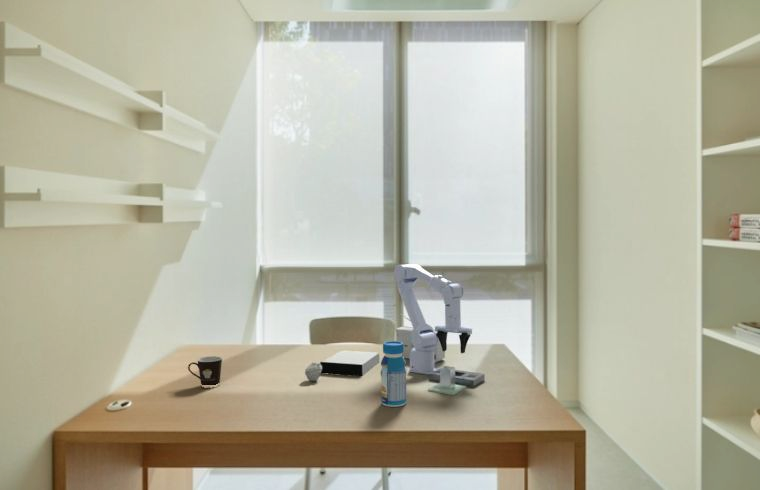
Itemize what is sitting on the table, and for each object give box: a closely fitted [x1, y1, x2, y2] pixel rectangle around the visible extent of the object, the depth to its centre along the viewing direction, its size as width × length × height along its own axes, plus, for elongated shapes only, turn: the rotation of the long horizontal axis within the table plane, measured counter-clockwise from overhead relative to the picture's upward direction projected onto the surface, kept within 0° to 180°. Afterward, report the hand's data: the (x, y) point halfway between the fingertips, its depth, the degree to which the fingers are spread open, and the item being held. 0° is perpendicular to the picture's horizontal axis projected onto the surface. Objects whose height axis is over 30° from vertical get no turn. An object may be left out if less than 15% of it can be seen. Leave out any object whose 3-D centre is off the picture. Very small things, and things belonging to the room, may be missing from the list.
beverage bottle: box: [380, 340, 407, 408], centre depth 183 cm, size 8×8×20 cm
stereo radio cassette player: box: [395, 312, 446, 364], centre depth 242 cm, size 21×8×20 cm, turn 58°
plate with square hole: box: [428, 367, 485, 388], centre depth 209 cm, size 18×10×3 cm, turn 57°
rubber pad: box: [427, 382, 467, 396], centre depth 198 cm, size 10×10×1 cm
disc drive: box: [319, 349, 380, 377], centre depth 229 cm, size 18×22×5 cm
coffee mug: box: [187, 355, 223, 385], centre depth 206 cm, size 12×9×10 cm
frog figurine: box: [304, 361, 322, 382], centre depth 211 cm, size 6×7×7 cm
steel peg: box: [439, 365, 456, 390], centre depth 198 cm, size 4×4×7 cm
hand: (453, 351), depth 210 cm, fingers open, 7 cm apart
